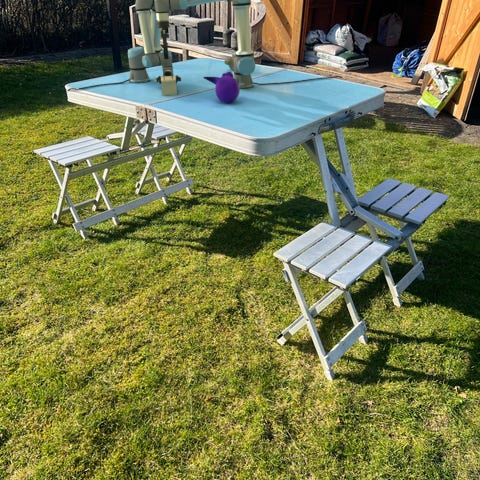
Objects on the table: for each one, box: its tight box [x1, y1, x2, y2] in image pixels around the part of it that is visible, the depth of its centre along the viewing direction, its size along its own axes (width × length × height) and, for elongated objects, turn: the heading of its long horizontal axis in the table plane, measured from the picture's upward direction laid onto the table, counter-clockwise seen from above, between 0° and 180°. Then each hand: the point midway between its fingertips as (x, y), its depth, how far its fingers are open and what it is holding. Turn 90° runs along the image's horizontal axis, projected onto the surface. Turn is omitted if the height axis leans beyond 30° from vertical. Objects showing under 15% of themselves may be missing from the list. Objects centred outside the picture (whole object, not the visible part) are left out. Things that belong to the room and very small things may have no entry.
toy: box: [203, 71, 241, 104], centre depth 277 cm, size 16×18×27 cm
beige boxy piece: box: [161, 67, 176, 82], centre depth 295 cm, size 14×10×8 cm
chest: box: [160, 81, 178, 97], centre depth 300 cm, size 13×10×9 cm
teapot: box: [223, 50, 237, 72], centre depth 368 cm, size 21×12×15 cm, turn 120°
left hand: (168, 82), depth 302 cm, fingers closed on chest, 9 cm apart
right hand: (166, 57), depth 287 cm, fingers open, 13 cm apart
